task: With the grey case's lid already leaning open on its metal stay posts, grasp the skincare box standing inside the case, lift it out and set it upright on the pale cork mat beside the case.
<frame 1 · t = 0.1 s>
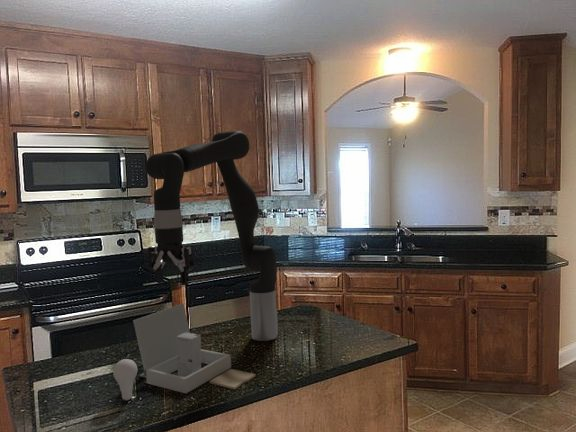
hand: (172, 283, 136), 29 cm above the counter, fingers open, 8 cm apart
mat: (232, 379, 140), on the counter
case: (190, 375, 145), on the counter
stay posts: (161, 368, 151), on the counter
lightbulb: (127, 400, 130), on the counter
lid: (164, 334, 149), point 11 cm above the counter, hinge at 103.0°
skincare box: (190, 375, 145), resting in case
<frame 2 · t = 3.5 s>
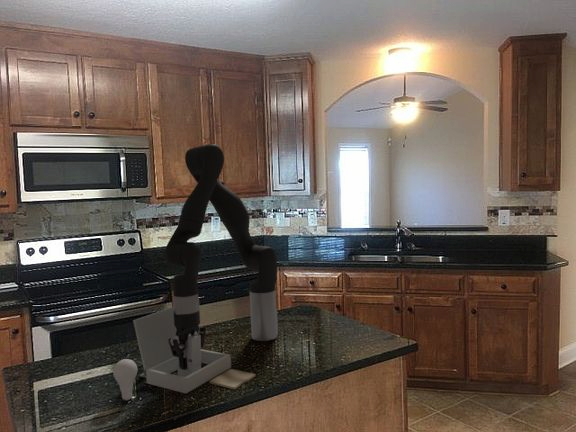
hand: (189, 366, 144), 3 cm above the counter, fingers closed on skincare box, 4 cm apart
skincare box: (190, 375, 145), resting in case, touching gripper
everything else where it was.
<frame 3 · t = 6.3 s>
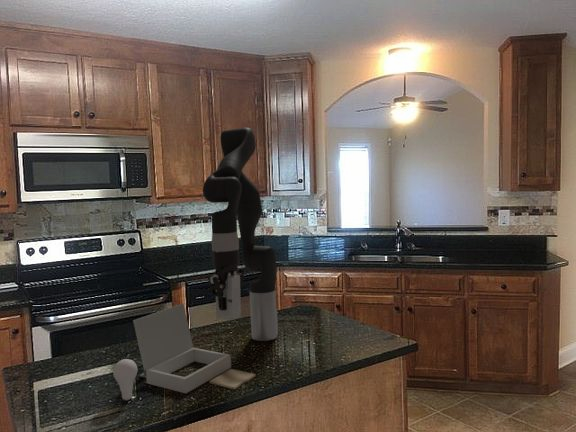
hand: (228, 307, 139), 21 cm above the counter, fingers closed on skincare box, 4 cm apart
skincare box: (229, 317, 139), point 18 cm above the counter, touching gripper
everything else where it was.
when the fingers open (5 cm above the counter, at t = 8.9 s): skincare box drops 1 cm, resting on mat.
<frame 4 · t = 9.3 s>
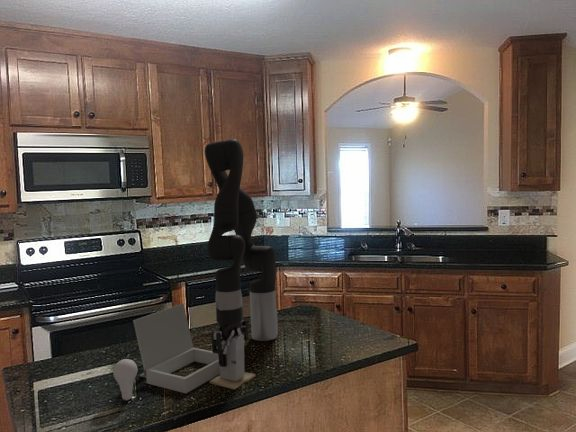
hand: (231, 361, 140), 5 cm above the counter, fingers open, 7 cm apart
skincare box: (233, 377, 141), resting on mat
everything else where it was.
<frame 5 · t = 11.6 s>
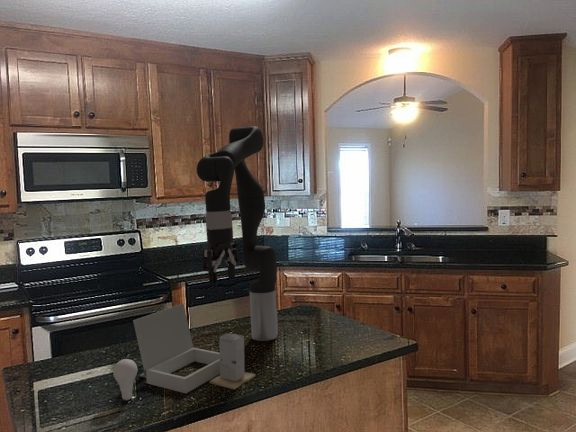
hand: (222, 281, 142), 28 cm above the counter, fingers open, 8 cm apart
nothing on the counter moved.
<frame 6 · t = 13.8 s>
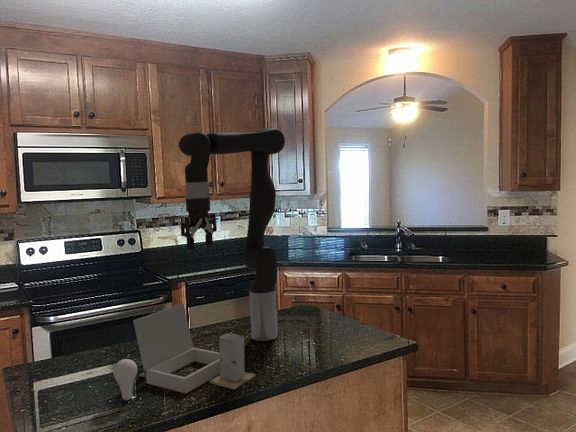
hand: (200, 247, 156), 36 cm above the counter, fingers open, 8 cm apart
nothing on the counter moved.
at the end: skincare box inside the target area on the mat (0.3 cm from its centre), point 0.4 cm above the mat's base; skincare box tilted 0°; the gripper is holding nothing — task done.
